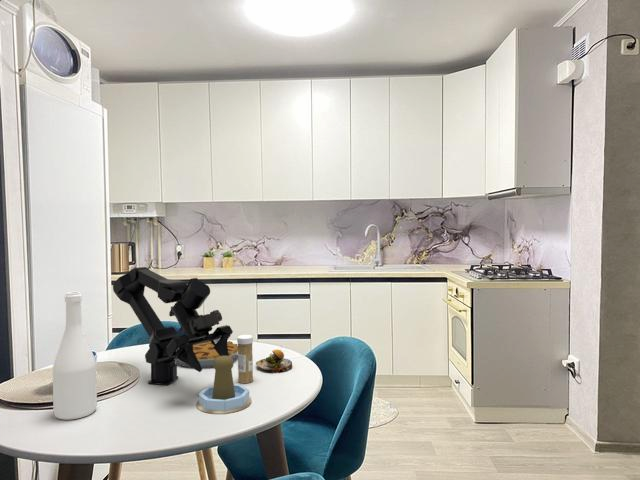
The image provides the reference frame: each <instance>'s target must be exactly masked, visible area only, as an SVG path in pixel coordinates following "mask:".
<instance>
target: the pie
mask: <svg viewBox="0 0 640 480" xmlns="http://www.w3.org/2000/svg"><path fill="white" fill-rule="evenodd" d="M214 346H215V345H213V344H212V343H211V341H208V342H205V343H201V344H197V345H193V351H194V353H195V355H196V357H197V359H198V361H199V363H200V365H201V368H202V369H203V368H214V367H213V362H214V359H215V358H216V357H218V356H220V355H219V354H218V353H217V352H216V350H215V349H214V348H213V347H214ZM227 347H228V354H229V356H230V357H232V359H233V361H234V360H235V358H236V357H237V356H238V343H234V342H233V341H230V340H228V341H227ZM177 361H178V362H179V364H180V365H181V366H183V367H187V368H192V367H191V366H189V365H188V364H186V363H185V362H183V361H181V360H179V359H177Z"/></svg>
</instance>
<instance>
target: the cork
mask: <svg viewBox="0 0 640 480" xmlns="http://www.w3.org/2000/svg"><path fill="white" fill-rule="evenodd" d="M212 368H214V371H215V372H214V380H213V386H214V387H213V395H212V399H220V400H226V399H230V398H235V391H234V378H233V371H232V369H233V368H234V360H233V359H232V357H230V356H218V357H216V358H215V359H214V362H213V367H212Z"/></svg>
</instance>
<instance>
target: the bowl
mask: <svg viewBox="0 0 640 480" xmlns="http://www.w3.org/2000/svg"><path fill="white" fill-rule="evenodd" d="M233 384H234V383H233ZM213 387H214V385H212V386H211V385H210V386H207V387H205V388H204V389H203V390H202V391H200V392H199V393H198V400H199V404H200V405H201V406H202V407H203V408H204V409H205V410H212V411H229V410H233V409H237V408H240V407H244V405H245V404H246V403H247V402H248V401H249V396H250V389H249V388H247V387H245V386H244V385H242V384H237V383H235V384H234V391H235V398H230V399H226V400H220V399H212V395H213Z"/></svg>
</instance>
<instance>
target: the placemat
mask: <svg viewBox="0 0 640 480" xmlns="http://www.w3.org/2000/svg"><path fill="white" fill-rule="evenodd" d="M251 404H252V397H251V396H250V395H249V401H248V402H247V403H246V404H245V405H244V407H240V408H237V409H233V410H229V411H212V410H205V409H204V408H203V407H202V406H201V405H200V404H199V399H198V401H196V408H197V410H198V411H200V412H203V413H204V414H205V413H206V414H212V415H226V414H227V415H228V414H233V413H237V412H240V411H244V410H245V409H247V408H249V406H250V405H251Z"/></svg>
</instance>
